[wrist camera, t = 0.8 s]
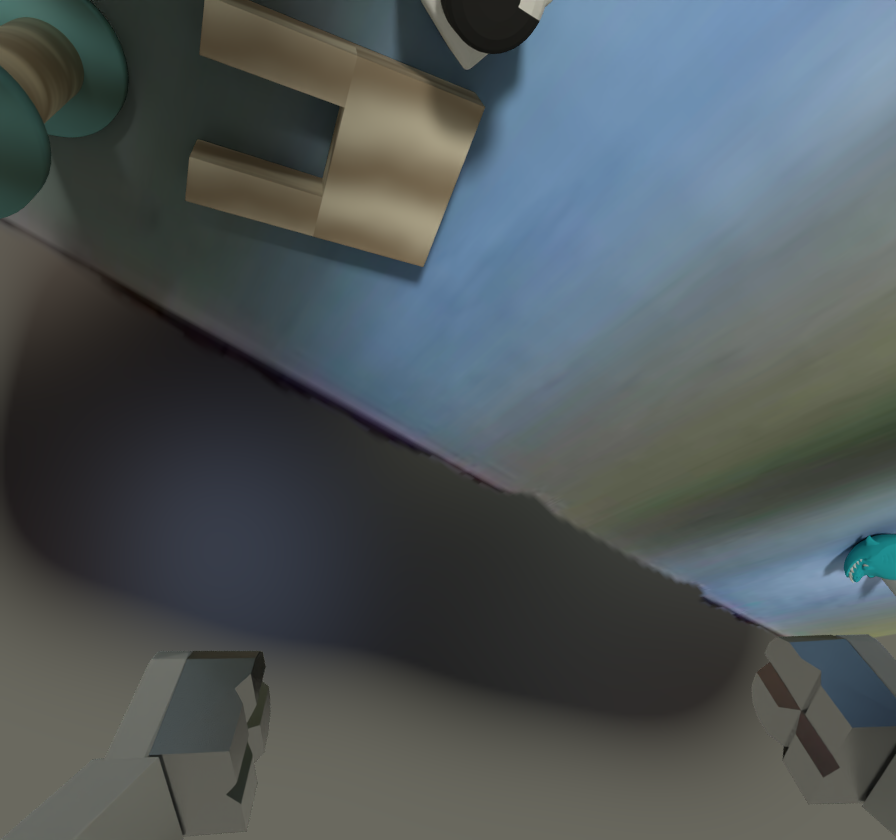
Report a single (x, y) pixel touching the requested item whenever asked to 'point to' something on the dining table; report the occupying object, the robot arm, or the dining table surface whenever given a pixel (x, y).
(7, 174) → the bobbin
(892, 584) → the eye dropper bottle
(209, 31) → the notched board
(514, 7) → the medicine bottle
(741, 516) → the dining table surface
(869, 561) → the toy shark
